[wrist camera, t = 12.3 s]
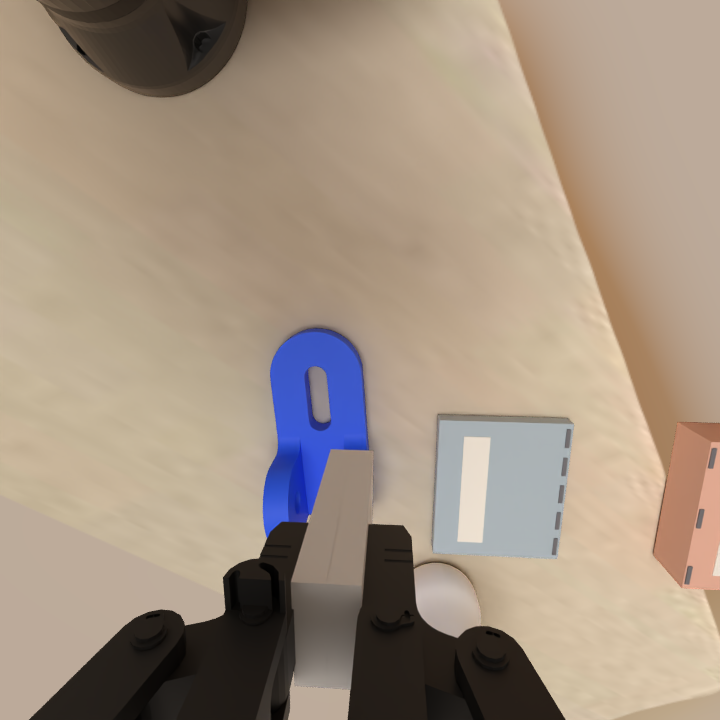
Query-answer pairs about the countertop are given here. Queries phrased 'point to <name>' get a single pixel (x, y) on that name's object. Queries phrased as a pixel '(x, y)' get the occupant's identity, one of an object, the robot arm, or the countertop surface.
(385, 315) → the countertop surface
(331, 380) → the bracket
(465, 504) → the ticket
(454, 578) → the bottle
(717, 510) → the stub
